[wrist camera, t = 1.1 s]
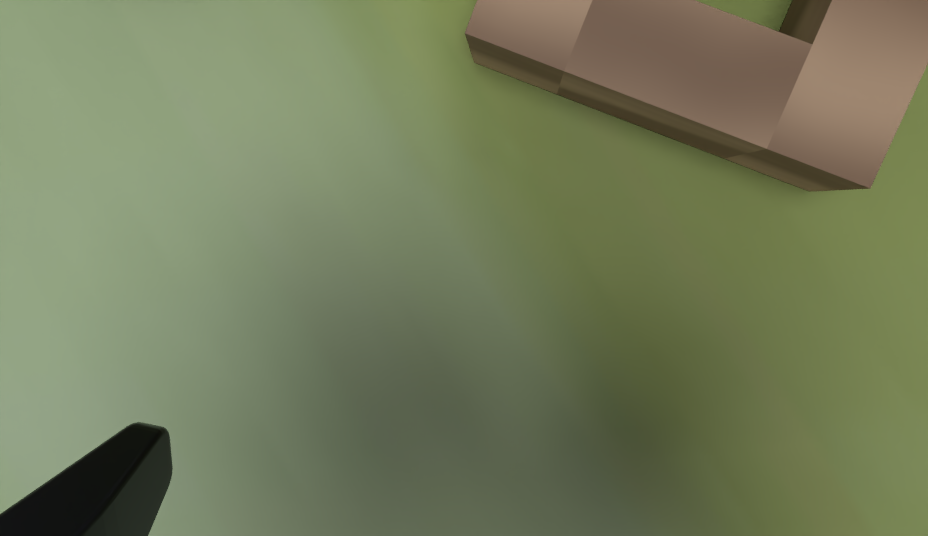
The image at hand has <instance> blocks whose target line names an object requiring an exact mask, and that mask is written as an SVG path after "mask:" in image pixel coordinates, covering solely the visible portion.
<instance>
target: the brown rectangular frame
mask: <svg viewBox="0 0 928 536" xmlns="http://www.w3.org/2000/svg"><path fill="white" fill-rule="evenodd" d="M465 35H466V38H467V41H468V44H469V48H470V51H471V54H472V57H473V60H474V63H477V64H479V65H482V66H485V67H487V68H490V69H492V70H495V71H498V72H500V73H503V74H505V75H508V76H511V77H513V78H516V79H518V80H521V81H524V82H526V83H529V84H531V85H534V86H537V87H539V88H542V89H544V90H547V91H550V92H552V93H555V94H557V95H560V96H563V97H565V98H568V99H570V100H573V101H576V102H578V103H581V104H583V105H586V106H589V107H591V108H594V109H596V110H599V111H602V112H604V113H607V114H609V115H612V116H615V117H617V118H620V119H622V120H625V121H628V122H630V123H633V124H635V125H638V126H641V127H643V128H646V129H648V130H651V131H654V132H656V133H659V134H661V135H664V136H667V137H669V138H672V139H674V140H677V141H680V142H682V143H685V144H687V145H690V146H693V147H695V148H698V149H700V150H703V151H706V152H708V153H711V154H713V155H716V156H719V157H721V158H724V159H726V160H729V161H732V162H734V163H737V164H739V165H742V166H745V167H747V168H750V169H752V170H755V171H758V172H760V173H763V174H765V175H768V176H771V177H773V178H776V179H778V180H781V181H784V182H786V183H789V184H791V185H794V186H797V187H799V188H802V189H804V190H807V191H828V190H849V189H870V188H871V186H872V184H873V181H874V179H875V177H876V175H877V173H878V171H879V168H880V166H881V164H882V162H883V160H884V158H885V155H886V153H887V151H888V149H889V147H890V144H891V142H892V140H893V138H894V136H895V134H896V131H897V129H898V127H899V125H900V123H901V121H902V118H903V116H904V114H905V112H906V110H907V108H908V105H909V103H910V101H911V99H912V97H913V94H914V92H915V90H916V88H917V86H918V84H919V81H920V79H921V77H922V75H923V73H924V71H925V68H926V66H927V64H928V0H792V3H791V5H790V7H789V10H788V12H787V14H786V17H785V19H784V21H783V24H782V26H781V28H780V31H779V32H778V31H775V30H773V29H770V28H767V27H765V26H762V25H759V24H756V23H754V22H751V21H748V20H746V19H743V18H740V17H738V16H735V15H732V14H730V13H727V12H724V11H722V10H719V9H716V8H714V7H711V6H708V5H706V4H703V3H700V2H698V1H695V0H477V2H476V5H475V8H474V10H473V13H472V16H471V18H470V21H469V23H468V26H467V29H466V31H465Z"/></svg>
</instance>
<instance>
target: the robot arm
mask: <svg viewBox="0 0 928 536" xmlns="http://www.w3.org/2000/svg"><path fill="white" fill-rule="evenodd" d="M171 476H172V457H171V447H170V437H169V432H168V431H167V429H166V428H164V427H161V426H156V425H151V424H146V423H141V422H137V423H133V424H131V425H129V426H127V427H126V428H124V429H123V430H121V431H120V432H118V433H117V434H116V435H114V436H113V437H111V438H110V439H108V440H107V441H105V442H104V443H102V444H101V445H100V446H98V447H97V448H95V449H94V450H92V451H91V452H89V453H88V454H87V455H85V456H84V457H82V458H81V459H79V460H78V461H76V462H75V463H74V464H72V465H71V466H69V467H68V468H66V469H65V470H63V471H62V472H60V473H59V474H58V475H56V476H55V477H53V478H52V479H50V480H49V481H47V482H46V483H45V484H43V485H42V486H40V487H39V488H37V489H36V490H34V491H33V492H32V493H30V494H29V495H27V496H26V497H24V498H23V499H21V500H20V501H18V502H17V503H16V504H14V505H13V506H11V507H10V508H8V509H7V510H5V511H4V512H3V513H1V514H0V536H148V534H149V532H150V530H151V527H152V525H153V523H154V520H155V518H156V515H157V513H158V511H159V508H160V506H161V503H162V501H163V499H164V496H165V494H166V491H167V489H168V486H169V484H170V480H171Z"/></svg>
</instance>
